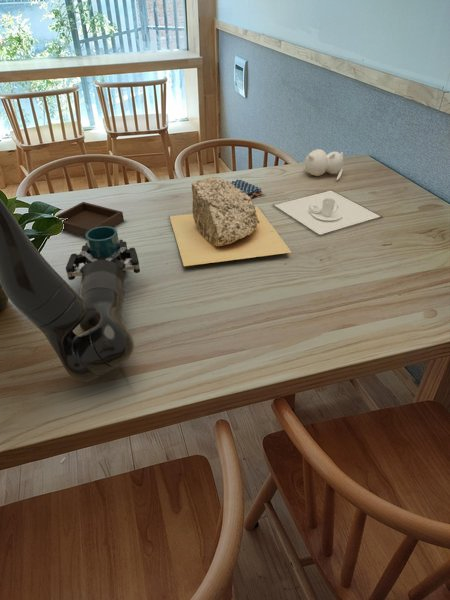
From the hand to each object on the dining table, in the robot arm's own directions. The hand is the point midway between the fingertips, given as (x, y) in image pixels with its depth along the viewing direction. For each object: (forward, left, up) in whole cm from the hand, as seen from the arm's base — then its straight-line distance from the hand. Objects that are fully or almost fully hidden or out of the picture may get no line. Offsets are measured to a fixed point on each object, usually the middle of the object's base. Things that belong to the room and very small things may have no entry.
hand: (104, 245), depth 94 cm
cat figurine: (+23, +74, -6) cm, 78 cm away
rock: (+15, +25, -6) cm, 30 cm away
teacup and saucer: (+32, +50, -6) cm, 60 cm away
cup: (+2, -2, -6) cm, 6 cm away
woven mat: (+6, +49, -6) cm, 50 cm away
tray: (-19, +14, -6) cm, 25 cm away
